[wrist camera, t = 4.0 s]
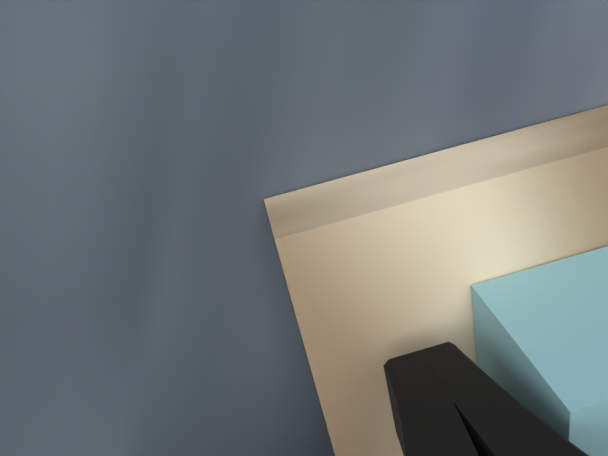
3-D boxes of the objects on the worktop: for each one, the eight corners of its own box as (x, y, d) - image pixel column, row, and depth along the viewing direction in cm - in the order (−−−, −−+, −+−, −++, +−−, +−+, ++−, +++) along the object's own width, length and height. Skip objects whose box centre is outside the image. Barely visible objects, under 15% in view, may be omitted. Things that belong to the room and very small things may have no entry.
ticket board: (367, 572, 17) (423, 774, 13) (263, 199, 10) (312, 377, 6) (704, 466, 17) (859, 628, 13) (813, 48, 11) (1179, 122, 7)
